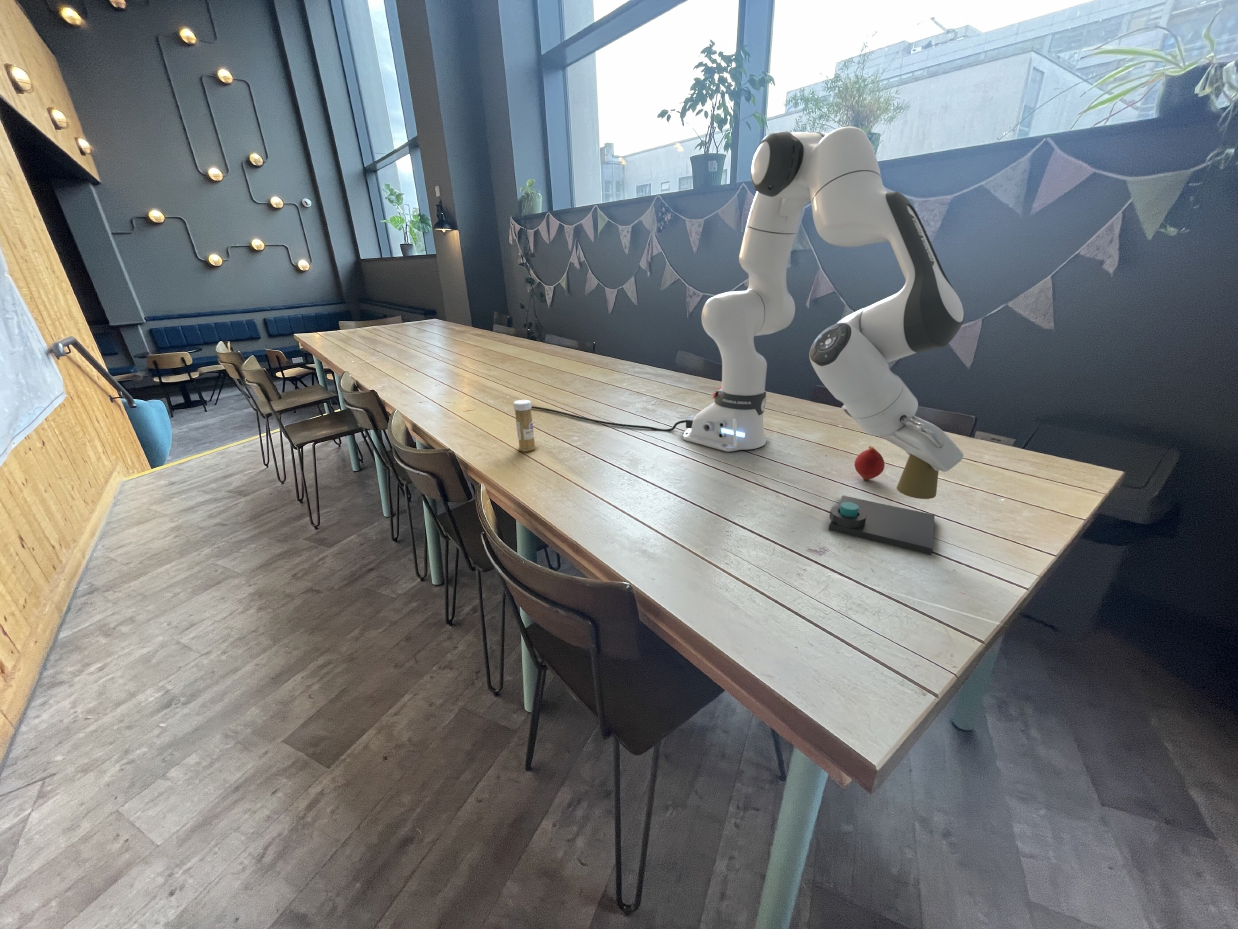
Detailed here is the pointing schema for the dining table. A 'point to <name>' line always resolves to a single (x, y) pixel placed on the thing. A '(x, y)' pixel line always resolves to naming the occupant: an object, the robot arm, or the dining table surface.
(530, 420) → the sprinkles bottle
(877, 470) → the onion
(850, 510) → the button
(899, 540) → the scale
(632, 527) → the dining table surface
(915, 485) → the cork
